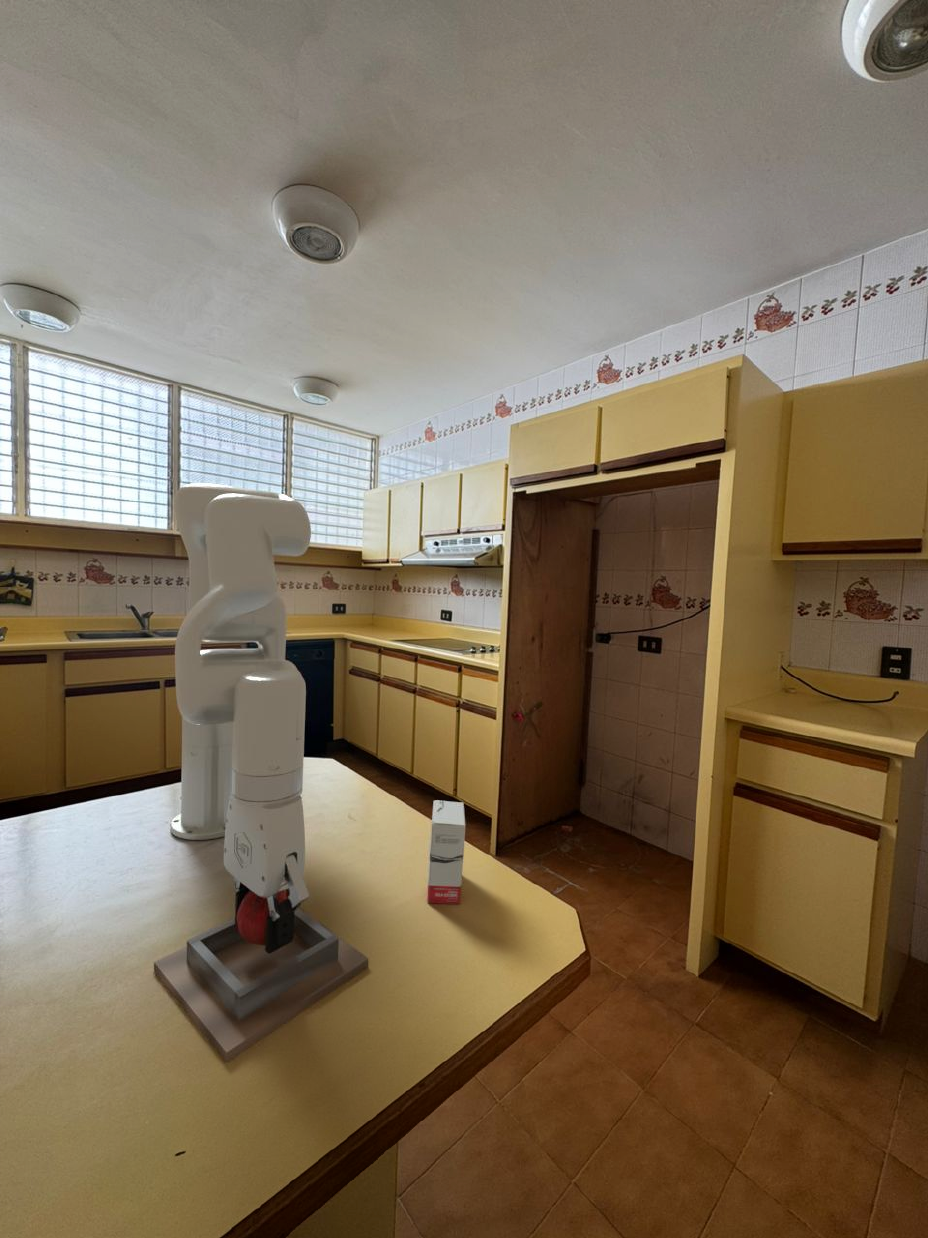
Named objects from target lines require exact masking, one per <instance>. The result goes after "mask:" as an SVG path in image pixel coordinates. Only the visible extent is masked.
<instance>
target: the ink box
mask: <svg viewBox="0 0 928 1238" xmlns="http://www.w3.org/2000/svg"><path fill="white" fill-rule="evenodd" d="M464 805H465V804H464V802H463V801H461V802H458V801H447V800H438V799H437V800H433V805H432V815H431V827H430V839H429V840H430V842H429V857H428V876H427V879H428V880H427V900H426V901H427V903H428V904H449V905H450V904H452V905H460V904H461V897H462V896H461V895H462V883H463V882H462V881H463V868H464V867H463V865H464V853H465V838H466V817H465V806H464Z"/></svg>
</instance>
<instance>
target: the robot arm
mask: <svg viewBox="0 0 928 1238" xmlns="http://www.w3.org/2000/svg"><path fill="white" fill-rule="evenodd" d="M174 512H175V513H174V514H175V515H174V516H175V521H176V524H177V527H178V531H179V535H180V537H181V539H182V542H183V545H184V547H185V550H186V553H187V557H188V563H189V565H188V566H189V568H188V569H189V571H188V573H189V575H188V576H189V577H188V613H187V614H186V616H185V618H184V619H183V621H182V623H181V625H180V627H179V630H178V632H177V636H176V640H175V648H174V671H175V696H176V702H177V703H176V704H177V708H178V711H179V714H180V716H181V724H182V725H181V729H182V730H181V780H180V781H181V785H180V786H181V791H180V813H179V814H177V815H176V816H175V817H173V819H172V820H170V821H171V822H170V831H171V833H172V834H173V835H174V836H175V837H177V838H180V839H183V840H190V841H202V840H203V841H204V840H205V841H207V840H212V839H218V838H219V839H220V838H224V842H223V865H224V868H225V869H226V871H227V872H228V873H229V874H231V875H232V876H233V877H234V880H233V888H234V889H235V890H236V891H235V900H234V901H235V904H234V906H235V907H234V909H235V910H234V918H235V923H236V924H237V925H238V923H237V913H238V909H239V907H240V904H241V902H242V900H243V898H244V897H245V895H246V894H247V893H248V892H249V891H250V890H251V891H253V892H254V893H255V894H257V895H258V896H260V897H262V898H267V900H268V906H269V912H270V916H268V917H267V918H266V935H265V951H266V952H267V953H269V954H270V953H272V952H274V951H276V950H278V949H279V948H281V947H283V946H285V945H287V944H288V943H290V942H292V940H293V938H294V911H295V910H297V909H298V907H300V906H301V905H302V904H303V903H304V902H306V901H307V900H308V899H309V897H310V893H309V890H308V888H307V886H306V883H305V880H304V873H305V865H306V833H305V815H304V806H303V797H302V796H301V795H302V793H303V786H304V785H303V783H304V757H305V756H304V754H305V727H306V725H305V723H306V703H307V702H306V700H307V698H306V697H307V689H306V688H307V687H306V681H305V679H304V677H303V675H302V674H301V671H299V670H298V668H297V667H296V665H295V664H294V663H293V662H292V661H290V660H287V659H286V643H287V610H286V609H287V608H286V604H285V602H284V599H283V598H282V596H281V595H280V594H278V588H279V587H278V586H279V585H278V581H277V575H276V567H275V561H274V560H275V559H274V556H283V557H300V556H302V555H304V554H305V553H306V552H307V550H308V548H309V546H310V543H311V537H312V528H311V521H310V517H309V514H308V512H307V510H306V509H305V507H304V506H303V504H302V503H301V502H299V501H298V500H296V499H294V498H292V497H290V496H288V495H286V494H283V493H280V492H274V491H266V490H259V489H251V488H245V487H238V486H232V485H231V486H230V485H225V484H216V483H203V482H202V483H201V482H200V483H188V484H185V485H182V486H181V487H180V488H179V489H178V490H177V491H176V493H175V497H174ZM202 642H205V643H255V644H257V648H213V649H202ZM283 879H284V881H283ZM282 891H285V892H286V897H287V899H285V900H283V901H282V902H281V903H280V904H279V905H278V899H277V894H278V893H280V892H282Z"/></svg>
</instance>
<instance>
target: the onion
mask: <svg viewBox="0 0 928 1238" xmlns="http://www.w3.org/2000/svg"><path fill="white" fill-rule="evenodd" d="M277 899H278V905H279V904H280V903H281V902H282V901H283V900H285V899H287V897H286V891H285V890H284V891H282V892H280V893H278V894H277ZM268 916H270V912H269V906H268V900H267V898H262V897H260V896H258V895H257V894H255V893H254V892H253V891H251V890H250V891H249V892H248V893H247V894H246V895H245V897H244V898H243V900H242V902H241V904H240V907H239V909H238V913H237V923H238V929H239V932H240V934H241V935H242V937H243V938H244V939H245V940H246V941H248V942H250V943H252V944H256V945H265V935H266V918H267V917H268Z"/></svg>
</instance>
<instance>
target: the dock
mask: <svg viewBox="0 0 928 1238" xmlns="http://www.w3.org/2000/svg"><path fill="white" fill-rule="evenodd" d="M368 967H369V958H368V957H367V956H366V955H364V954H363V953H362V952H360V951H359V950H358V949H356V948H355V947H354V946H352V945H351V944H350V943H348V942H347V940H346V941H345V940H344V938H342V937H340V936H339V935H338V934H336V933H335V932H333V930H331V929H330V928H328V926H325V925H324V924H323V923H322V922H321V921H319V920H318V919H316V918H315V917H314V916H312V915H311V914H309V912H307V911H306V910H304V909H303V908H301V907H300V906H299V907H298V909H297V910H295V911H294V938H293V940H292V942H290V943H288V944H287V945H285V946H283V947H281V948H279V949H278V950H276V951H274V952H272V953H270V954H269V953H267V952H266V951H265V945H256V944H252V943H250V942H248V941H246V940H245V939H244V938H243V937H242V935H241V934H240V932H239V929H238V925H237V924H236V923H235V917H234V918H232V919H230V920H228V921H225V922H224V923H221V924H219V925H217V926H214V927H213V928H211V929H209V930H207V931H206V930H205V932H202V933H200V934H198V935H196V936H194V937H191V938H190V939H187V940H186V946H185V947H183V948H181V949H178V950H176V951H174V952H172V953H170V954H168V955H165V956H163V957H161V958H160V959H158V960H155V961H153V972H154V973H156V976H158V978H159V979H160V980H161V982H162V983H163V984H164V985H165V986H166V988H167V989H168V990H169V992H170V993H171V994H172V996H173V997H174V998H175V1000H177V1002H178V1003H179V1004H180V1006H181V1007H182V1008H183V1009H184V1011H185V1012H186V1013H187V1015H188V1016H189V1017H190V1018H191V1019H192V1021H193V1022H194V1023H195V1025H196V1026H197V1027H198V1029H200V1031H201V1032H202V1033H203V1035H204V1036H205V1037H206V1039H207V1040H208V1042H210V1044H211V1045H212V1046H213V1048H214V1049H215V1050H216V1051H217V1052H218V1054H219V1055H220V1057H221V1058H222V1059H223V1060H224V1062H225V1063H228V1062H230V1061H231V1060H232V1059H234V1058H235V1057H237V1056H238V1055H240V1054H242V1053H243V1052H244V1051H246V1050H247V1049H248V1048H250V1047H252V1046H253V1045H255V1044H257V1043H258V1042H259V1041H261V1040H263V1039H265V1037H266V1036H268V1035H270V1034H271V1033H273V1032H274V1031H276V1030H277V1029H278V1028H280V1027H281V1026H284V1024H286V1023H288V1022H289V1021H290V1020H292V1019H293V1018H295V1017H296V1016H298V1015H299V1014H301V1013H302V1012H304V1011H305V1010H306V1009H308V1008H310V1007H311V1006H312V1005H314V1004H316V1003H317V1002H318V1001H320V1000H321V999H322V998H324V997H326V996H327V995H329V994H331V993H332V992H334V990H336V989H338V988H339V987H341V986H342V985H343V984H345V983H347V982H348V981H350V980H351V979H352V978H354V977H355V976H357V975H358V974H359V973H361V972H363V971H364V970H366V969H367V968H368Z"/></svg>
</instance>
